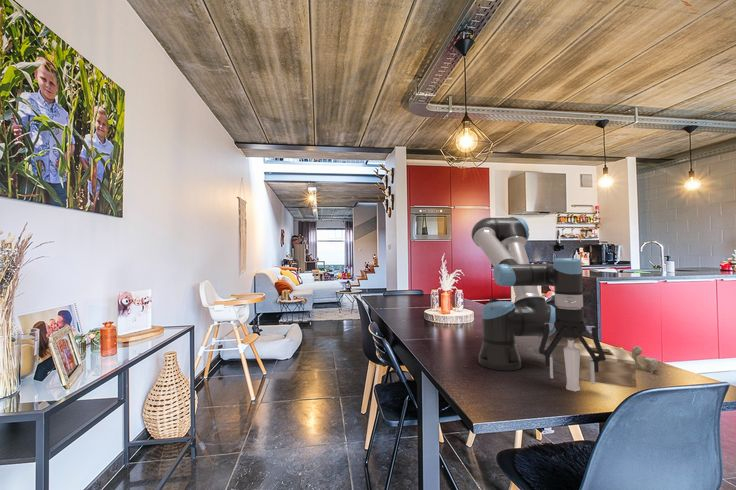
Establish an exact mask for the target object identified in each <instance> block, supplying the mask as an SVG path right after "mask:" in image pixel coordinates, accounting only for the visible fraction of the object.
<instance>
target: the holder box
mask: <svg viewBox="0 0 736 490" xmlns="http://www.w3.org/2000/svg"><path fill="white" fill-rule="evenodd" d="M574 344H575V347H576V348H578V349H580V365H579V380H582V381H583V380H584V381H590V359H591V360H593V359H592V357H591V356H590V354H589V353H588V351H587V350H586V348H585V347H584V346H583V344H582V343H576V342H574ZM588 345H589V347H590V348H591V349H592V351H593V352H594V354H595V355H596V356H598V355H599V354H598V352H597V349H596V346H595V344H588ZM601 347H602V350H603V353H604V355H605V358H606V360H605V361H603V360H602V361H599V362H598V366H599V371H598V373H597V372H594V374H595V383H596V382H598V383H604V384H611V385H612V384H613V385H619V386H626V387H635V388H637V374H636V370H637V369H636V368H635V360H634V359H633V358H632V355H630V353H628V352H627V351H626V350H625V349H624V348H623V347H617V346H608V345H607V346H606V345H601ZM590 382H591V381H590Z"/></svg>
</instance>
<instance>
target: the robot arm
mask: <svg viewBox="0 0 736 490" xmlns="http://www.w3.org/2000/svg"><path fill="white" fill-rule="evenodd" d="M529 231H530V228H529V225H528V223H527V222H526V220H525V219H523V217H517V216H516V217H515V216H509V217H486V218H482V219H480V220H479V221H477V222H476V223H475V224H474V226H473V227H472V230H471V238H472V241H473V242H474V243H473V244H475V245H476V246H477V247H479V248H480V249H481V250H482V252H483V253H484V255H485V256H486V258H487V259H488V260H489V262H490V264H491V265H492V266H493V267H494V269H493V278H494V282H495V283H496V285H498V286H502V287H512V289H513V292H514V296H515V301H514V302H513V301H509V300H508V301H507V300H506V301H505V300H504V301H502V300H500V301H493V302H488V303H486V304H484V305H483V306H482V311H481V320H482V321H481V323H482V324H481V325H482V344H481V348H480V351H479V354H478V363H479V365H480V366H482V367H484V368H488V369H491V370H497V371H506V372H507V371H517V370H519V369H521V368H522V360H521V359H522V358H521V357H520V354H519V351H518V348H517V345H516V343H517V342H516V337H538V338H541V342H540V345H539V347H538V352H539V354H541V355H543V356H545V357H544V358H545V366H546V367H549V378H550V379H554V366H553V363H554V361H553V359H554V358H553V355H552V353H553V352H554V350H555V348H556V347H557V345H558V344H559V343H560V342H561V340H562V339H563V338H565V339H573V340H575V339H578V340H579V342H581V343H580V344H583V346H584V347H585V348H586V350H587V351H588V353H589V354H590V356H591V357H592V359H593V360H591V359H590V383H591V385H596V381H595V374H594V372H597V373H598V371H599V366H598V362H599V361H602V360H603V361H605V360H606V358H605V355H604V353H603V350H602V347H601V346H602V345H601V343H600V339H599V337H598V328H597V327H596V326H595V325H591V326H589V325H586V324H585V316H584V313H585V312H584V309H583V308H584V296H583V289H584V288H583V287H584V285H583V268H582V261H581V259H580V258H577V257H576V258H575V257H573V258H572V257H570V258H567V257H564V258H563V257H562V258H561V257H559V258H558V257H557V258H554V260H553V262H552V263H544V262H543V263H530V261H529V257H528V254H527V251H526V248H525V246H526V244H527V241H528V240H529V239H530V238H529V237H530V232H529ZM537 286H539V287H540V286H541V287H544V286H545V287H546V286H547V287H549V286H550V287H554V288H553V289H554V305H555V306H556V307H554V306H553V305H551V304H548V303H547V301H546V298H545V296H542V295H540V292H539V290H538V287H537ZM586 330H587V332H588V333H589V334H590V336H591V339H592V341H593V345H595V346H596V349H597V352H598V354H599V355H598V356H596V355H595V354H594V352H593V351H592V349H591V348H590V347H589V345H590V344H588V343H587V341H586V339H585V338H584V337H583V333H584V332H585V331H586ZM556 331H557V333H556V335H555V336H554V338H553V340H552V341H551V342H550V344H549V346H548V347H547V348H546V344H547V342H548V339H549V337H550V336H553V334H555V332H556ZM545 348H546V349H545Z"/></svg>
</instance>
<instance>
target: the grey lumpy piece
mask: <svg viewBox="0 0 736 490" xmlns="http://www.w3.org/2000/svg"><path fill="white" fill-rule="evenodd" d="M642 351H643V349H642V348H641V346H638V345H637V346H633V347H632V348H631V357H632V358H633V359H634V360H635V368H636V370H637V369H638V370H643V371H647V372H650V373H651V374H654V372H655V371H656V370H658V367H659V365H660V364H659V362H658V360H657V359H656V358H654V357H653V358H650V357H647V356H646V357H644V362H645V363H646V364H647V365H643V364H641V363H640V362H639V361H638V359H637V357H638V356H640V355H641V354H642Z"/></svg>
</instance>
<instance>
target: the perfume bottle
mask: <svg viewBox="0 0 736 490" xmlns="http://www.w3.org/2000/svg"><path fill="white" fill-rule="evenodd" d="M566 340H567V345H565V346H563V356H564V357H563V358H564V368H565V375H566V386H565V389H566V390H567V391H571V392H578V391H581V388H580V384H579V380H580V379H579V365H580V349H578V348H576V347H575V344H574V343H575V339H574V338H566Z"/></svg>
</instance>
